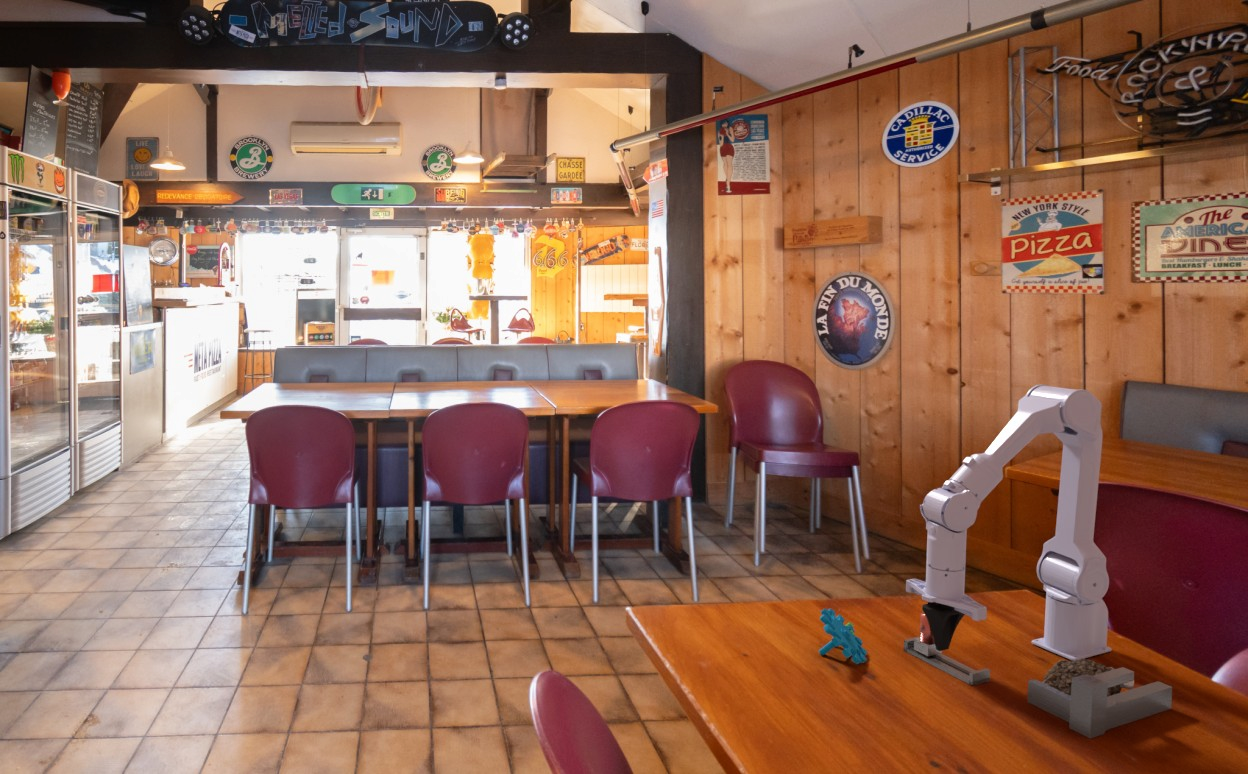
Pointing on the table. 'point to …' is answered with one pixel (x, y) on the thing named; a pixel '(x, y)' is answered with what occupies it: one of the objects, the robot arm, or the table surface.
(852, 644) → the gear
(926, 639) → the lever
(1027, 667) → the table surface
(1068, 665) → the concrete sample
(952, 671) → the lever rail
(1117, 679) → the grey bracket piece
